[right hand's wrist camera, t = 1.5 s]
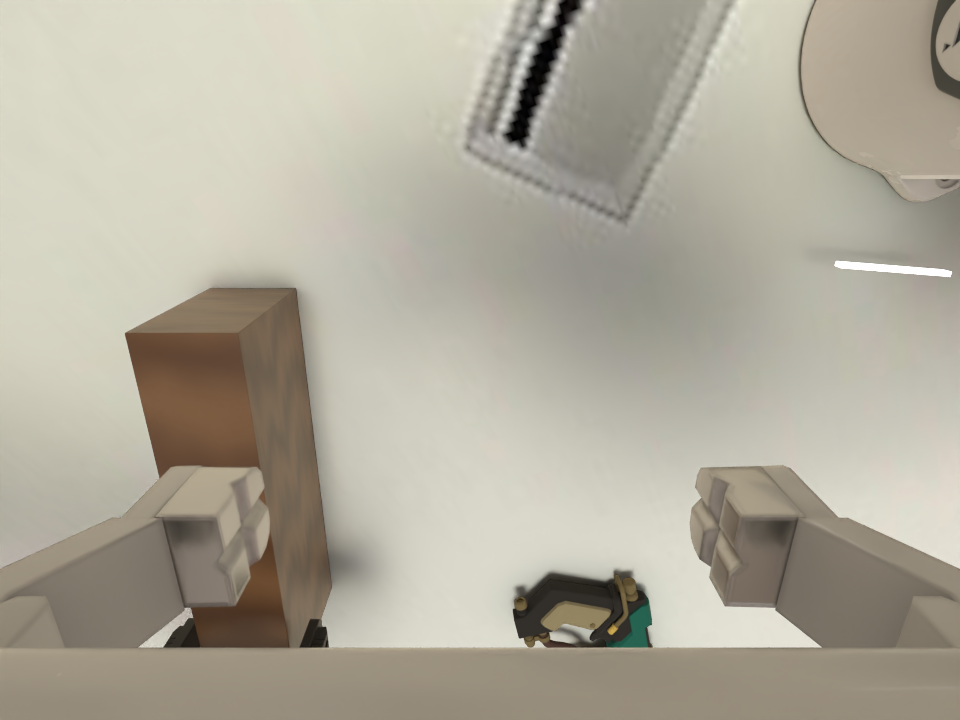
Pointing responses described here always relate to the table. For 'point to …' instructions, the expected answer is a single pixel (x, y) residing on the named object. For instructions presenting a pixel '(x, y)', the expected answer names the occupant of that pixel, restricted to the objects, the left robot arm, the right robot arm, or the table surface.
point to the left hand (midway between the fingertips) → (258, 627)
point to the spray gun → (586, 613)
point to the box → (243, 444)
